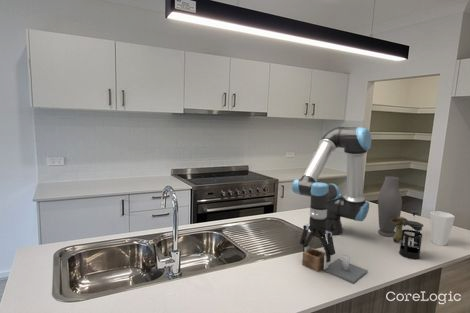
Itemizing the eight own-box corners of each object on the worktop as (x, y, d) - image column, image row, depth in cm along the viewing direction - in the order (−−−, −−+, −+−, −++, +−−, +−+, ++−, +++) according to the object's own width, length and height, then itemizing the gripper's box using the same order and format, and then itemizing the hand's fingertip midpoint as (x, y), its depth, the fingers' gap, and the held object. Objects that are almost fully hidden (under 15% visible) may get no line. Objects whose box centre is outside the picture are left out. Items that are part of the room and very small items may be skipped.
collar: (302, 264, 135) (302, 252, 134) (311, 259, 141) (312, 247, 140) (317, 271, 129) (318, 259, 129) (326, 265, 135) (327, 253, 134)
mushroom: (405, 247, 158) (408, 220, 156) (387, 243, 162) (390, 217, 160) (406, 241, 166) (408, 216, 164) (389, 237, 170) (391, 213, 168)
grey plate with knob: (322, 270, 131) (323, 255, 130) (338, 260, 140) (339, 247, 139) (353, 283, 121) (354, 267, 120) (367, 272, 130) (368, 257, 129)
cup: (452, 243, 165) (456, 214, 162) (449, 249, 157) (453, 218, 155) (429, 237, 172) (432, 209, 170) (425, 242, 165) (428, 213, 163)
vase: (393, 239, 167) (399, 180, 163) (370, 233, 177) (376, 176, 173) (401, 234, 176) (408, 178, 172) (379, 228, 186) (385, 174, 182)
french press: (413, 261, 142) (418, 216, 139) (394, 253, 150) (398, 210, 147) (425, 256, 148) (431, 212, 145) (407, 249, 156) (411, 207, 153)
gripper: (293, 212, 137) (291, 258, 140) (337, 225, 121) (334, 276, 124) (302, 209, 142) (300, 253, 145) (345, 221, 126) (342, 270, 129)
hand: (315, 263), depth 134 cm, fingers open, 10 cm apart
